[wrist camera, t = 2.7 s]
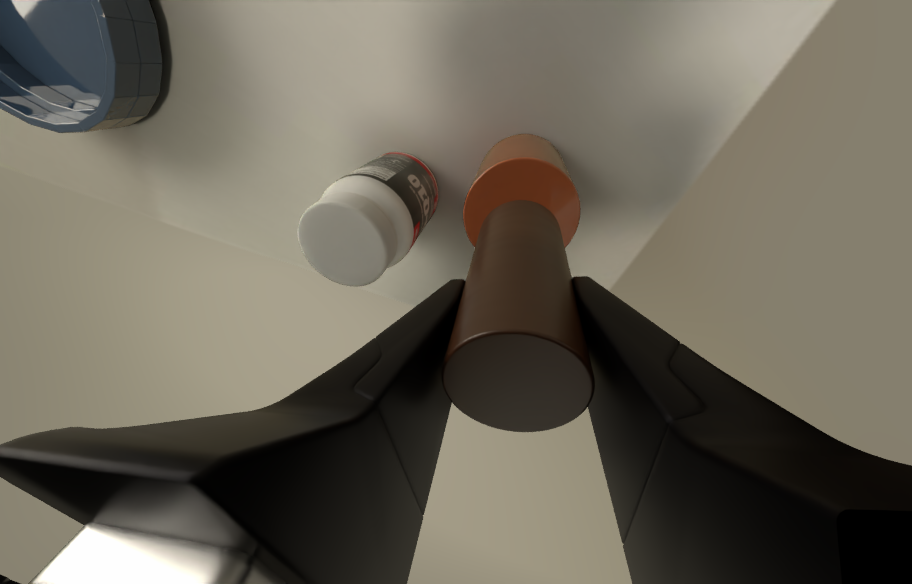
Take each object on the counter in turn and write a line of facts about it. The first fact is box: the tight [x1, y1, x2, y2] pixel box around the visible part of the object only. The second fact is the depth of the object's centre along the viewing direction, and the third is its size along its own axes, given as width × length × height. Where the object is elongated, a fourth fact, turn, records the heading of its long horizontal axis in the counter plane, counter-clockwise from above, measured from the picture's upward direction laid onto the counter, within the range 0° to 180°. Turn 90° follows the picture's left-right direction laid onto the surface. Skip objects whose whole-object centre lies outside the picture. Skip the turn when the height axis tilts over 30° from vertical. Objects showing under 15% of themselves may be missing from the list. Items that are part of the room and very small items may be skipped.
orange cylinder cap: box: [463, 134, 580, 247], centre depth 16 cm, size 5×5×6 cm
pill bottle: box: [298, 152, 438, 286], centre depth 17 cm, size 5×5×8 cm
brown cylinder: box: [441, 200, 595, 432], centre depth 9 cm, size 3×3×7 cm
